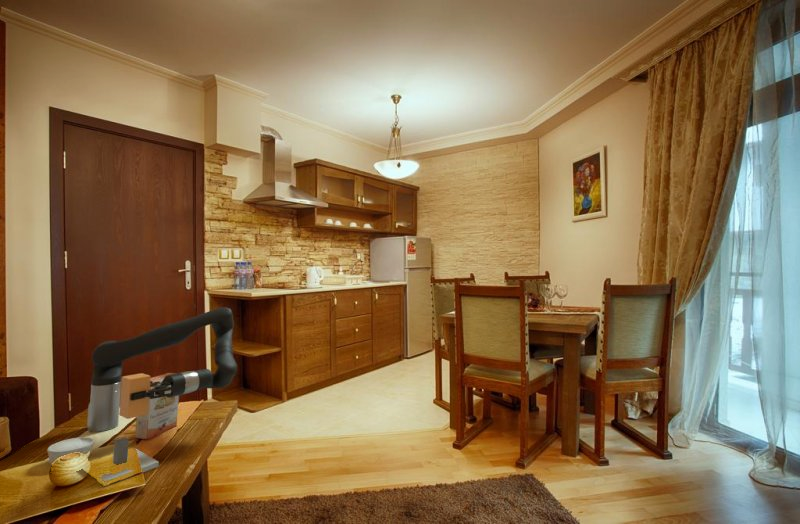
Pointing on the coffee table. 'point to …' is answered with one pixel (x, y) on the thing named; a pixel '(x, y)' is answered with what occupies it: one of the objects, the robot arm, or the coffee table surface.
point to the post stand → (122, 456)
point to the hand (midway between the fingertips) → (126, 395)
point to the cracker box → (158, 414)
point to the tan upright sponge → (131, 386)
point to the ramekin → (70, 447)
